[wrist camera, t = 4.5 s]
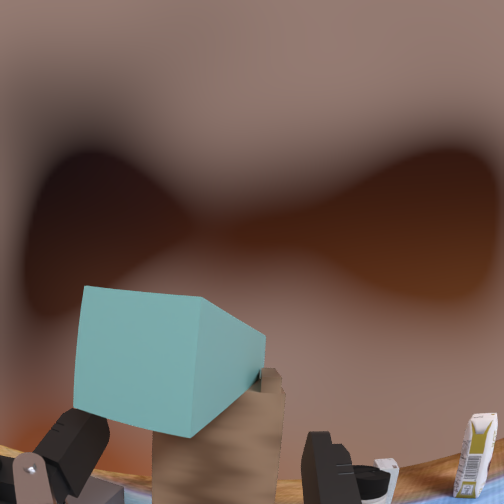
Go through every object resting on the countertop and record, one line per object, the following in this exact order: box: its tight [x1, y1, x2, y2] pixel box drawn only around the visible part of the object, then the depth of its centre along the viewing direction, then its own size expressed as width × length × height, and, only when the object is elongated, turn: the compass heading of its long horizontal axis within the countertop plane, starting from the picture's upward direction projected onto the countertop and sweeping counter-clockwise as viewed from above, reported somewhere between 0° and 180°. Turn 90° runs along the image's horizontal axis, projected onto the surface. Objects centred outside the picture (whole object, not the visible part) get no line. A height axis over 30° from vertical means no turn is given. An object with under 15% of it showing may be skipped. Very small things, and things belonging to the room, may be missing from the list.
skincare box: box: [373, 458, 399, 504], centre depth 45 cm, size 6×4×12 cm
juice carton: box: [453, 413, 498, 498], centre depth 44 cm, size 8×9×19 cm
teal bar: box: [73, 286, 266, 438], centre depth 20 cm, size 4×24×4 cm, turn 173°
